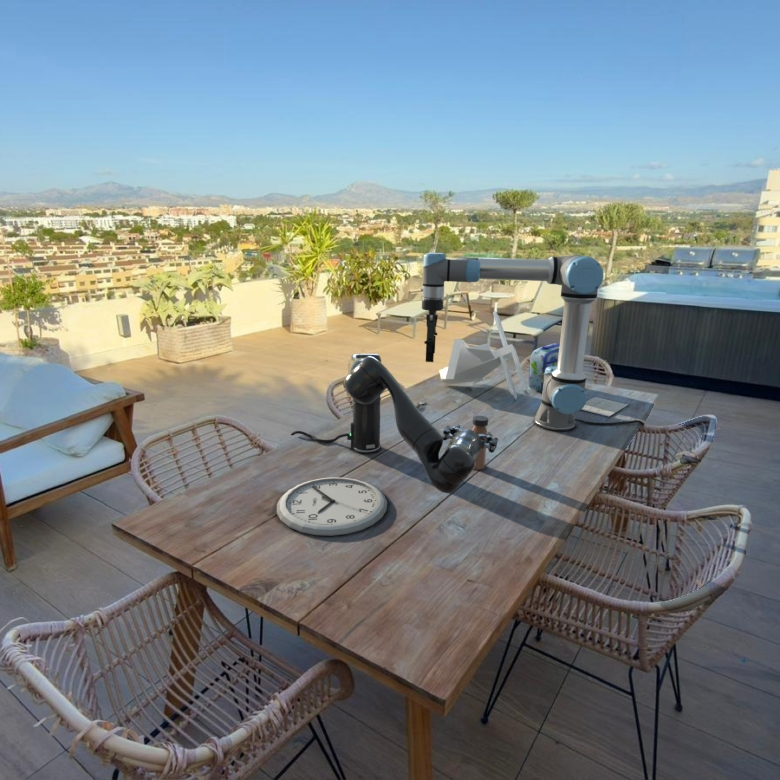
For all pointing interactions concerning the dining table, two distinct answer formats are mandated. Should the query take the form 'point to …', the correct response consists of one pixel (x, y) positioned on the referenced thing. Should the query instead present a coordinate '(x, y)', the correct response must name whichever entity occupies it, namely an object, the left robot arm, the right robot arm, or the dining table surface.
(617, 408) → the invitation card
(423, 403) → the fork
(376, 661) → the dining table surface
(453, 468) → the left robot arm
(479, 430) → the bottle
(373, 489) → the wall clock
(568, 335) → the right robot arm
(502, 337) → the white plastic object
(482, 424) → the cap
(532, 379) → the lunch box
